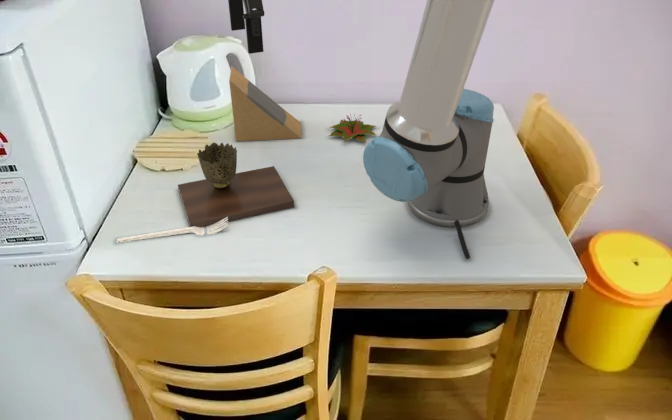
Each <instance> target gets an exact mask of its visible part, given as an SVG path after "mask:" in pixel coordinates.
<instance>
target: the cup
mask: <svg viewBox="0 0 672 420" xmlns="http://www.w3.org/2000/svg"><path fill="white" fill-rule="evenodd" d="M196 155H197V157H198V161H199V165H200V168H201V171H202V174H203V176H204V179H207V180H208V181H209V182H211V183H212V185H213V187H214V188H215V189H218V190H224V189H227V188H228V187H229V186H230V184H231V180H232V179H233V178H234V176H235V173H237V163H238V150H237V147H236V146H233V144H230V143H229V142H227V143H226V144H225V145H224V142H221V143H219V144H218V143H216V142H214V141H213V142H212V143H211V144H210V145H209V144H205V145H204V150H202V149H198V152H197V154H196Z"/></svg>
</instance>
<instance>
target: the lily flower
mask: <svg viewBox="0 0 672 420" xmlns="http://www.w3.org/2000/svg"><path fill="white" fill-rule="evenodd" d="M361 116H362V114H359V115H358V118H357V116H356V115H355V114H354V116H353V117H354V120H352V118H351V117H352V114H349V115H346V119H347V120H346V119H345V118H343V119H340V121H339V123H336V124H335V125H332V126H330V128H331V129H334V130H333V131H331V132H330V134H329V135H328V137H339V138H340V137H341V138H342V139H343V141H344V143H346V142H348V141H349V140H351V139H353V140H356V141H359V142H362V143H366V139H367V135H370V136H376V134H375V132H373V129H374V128H375V127H376V125H373V124H367V123H365V124H364V121H361V119H362V117H361Z"/></svg>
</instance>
